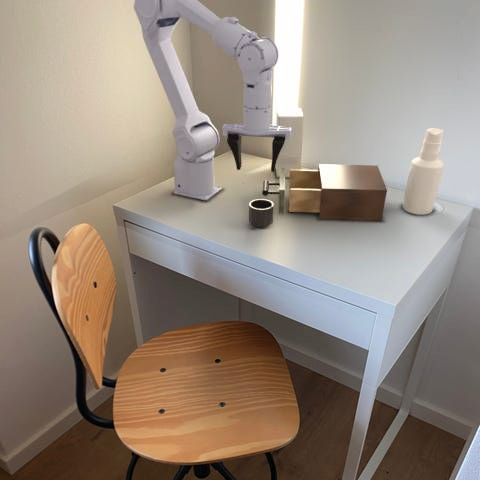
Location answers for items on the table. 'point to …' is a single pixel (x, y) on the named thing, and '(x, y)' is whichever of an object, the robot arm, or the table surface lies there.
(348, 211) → the cabinet
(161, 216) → the table surface
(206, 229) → the table surface
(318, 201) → the drawer
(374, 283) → the table surface
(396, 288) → the table surface
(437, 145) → the spray bottle
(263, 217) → the dark grey cup
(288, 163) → the cosmetic box
